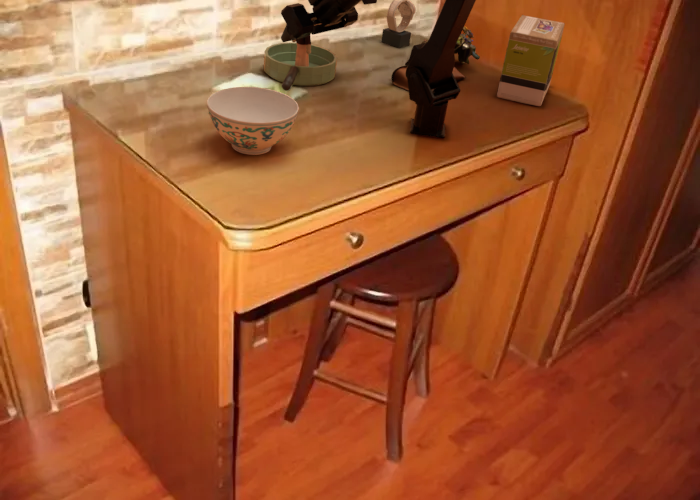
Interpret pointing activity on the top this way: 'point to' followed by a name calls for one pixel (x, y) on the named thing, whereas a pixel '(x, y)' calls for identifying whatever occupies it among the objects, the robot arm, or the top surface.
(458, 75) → the sunglasses case
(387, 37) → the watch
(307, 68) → the pan
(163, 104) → the top surface
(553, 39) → the tea box
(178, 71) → the top surface
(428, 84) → the robot arm
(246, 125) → the chinaware
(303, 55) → the grandmother figurine
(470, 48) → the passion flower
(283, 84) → the pan handle
